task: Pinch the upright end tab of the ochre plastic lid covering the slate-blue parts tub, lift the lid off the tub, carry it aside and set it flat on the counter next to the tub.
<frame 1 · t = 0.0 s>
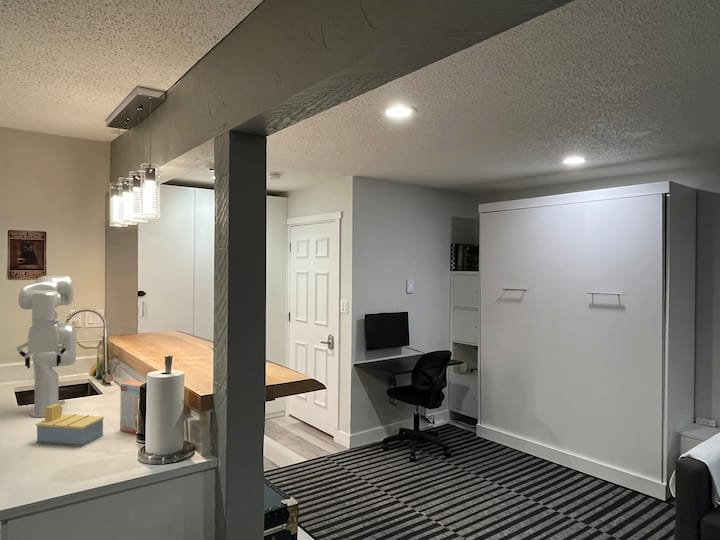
hand: (43, 366, 190), 31 cm above the worktop, tool pointing down, fingers open, 9 cm apart
tub: (70, 439, 197), on the worktop
lid: (70, 422, 197), point 7 cm above the worktop, touching tub
cracker box: (137, 431, 206), on the worktop
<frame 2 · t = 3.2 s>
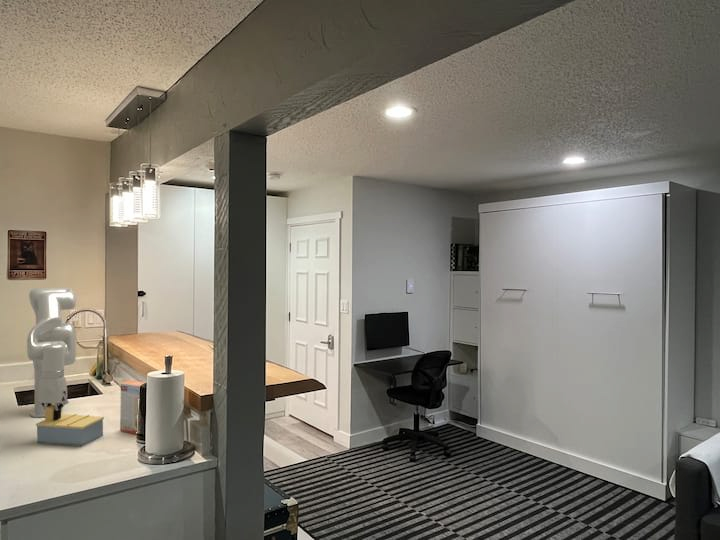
hand: (53, 418, 198), 8 cm above the worktop, tool pointing down, fingers closed on lid, 3 cm apart
lid: (70, 422, 197), point 7 cm above the worktop, touching gripper, tub
everything else where it was.
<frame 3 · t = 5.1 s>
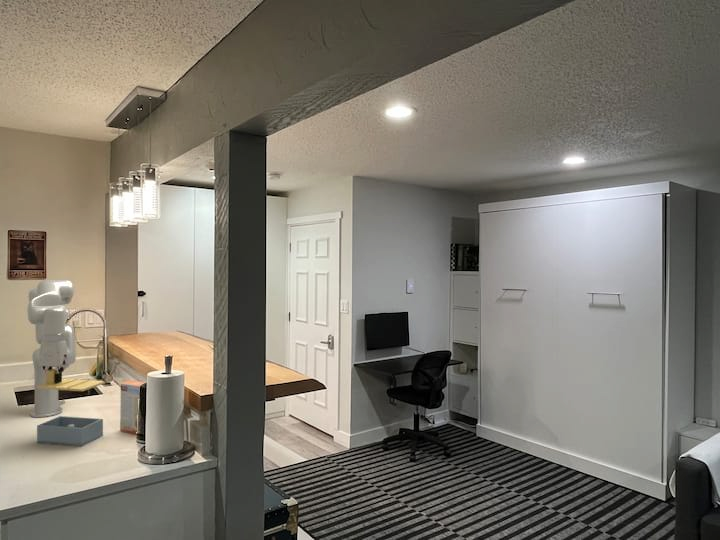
hand: (54, 381, 198), 23 cm above the worktop, tool pointing down, fingers closed on lid, 3 cm apart
lid: (71, 385, 197), point 22 cm above the worktop, touching gripper
everything else where it was.
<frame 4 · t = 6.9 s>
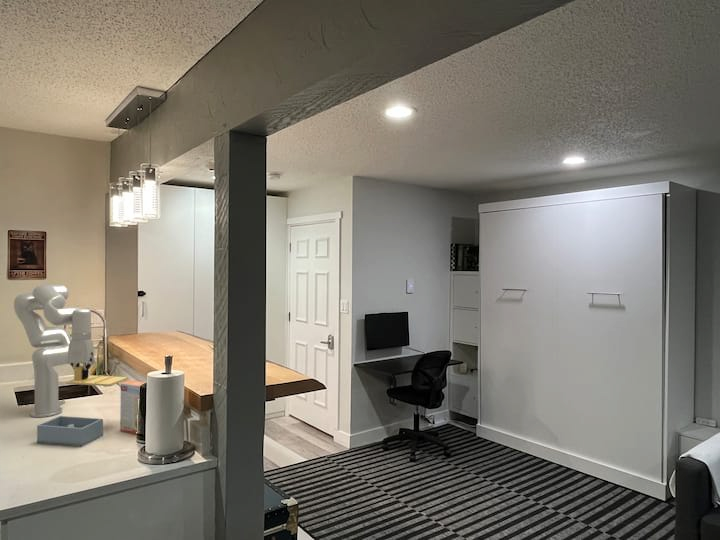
hand: (81, 377, 213), 21 cm above the worktop, tool pointing down, fingers closed on lid, 3 cm apart
lid: (97, 381, 212), point 20 cm above the worktop, touching gripper
everything else where it was.
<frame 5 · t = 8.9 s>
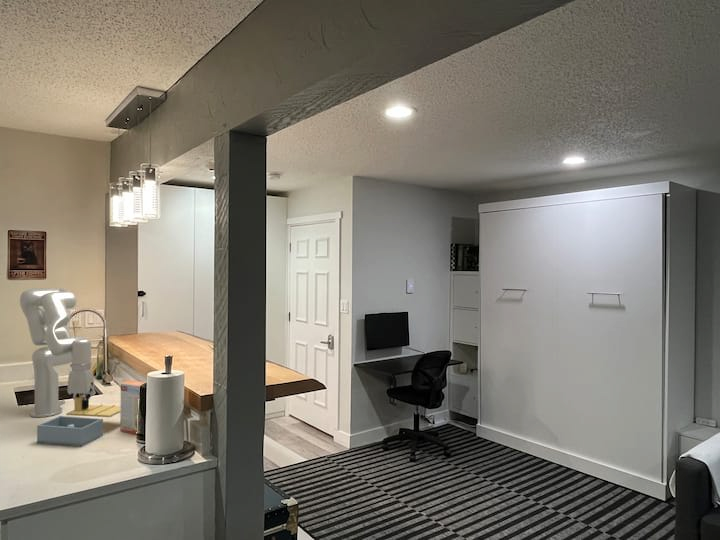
hand: (81, 407, 213), 8 cm above the worktop, tool pointing down, fingers closed on lid, 3 cm apart
lid: (98, 411, 212), point 6 cm above the worktop, touching gripper
everything else where it was.
when the fingers open (2 cm above the worktop, at t = 10.8 s): lid drops 1 cm, on the worktop.
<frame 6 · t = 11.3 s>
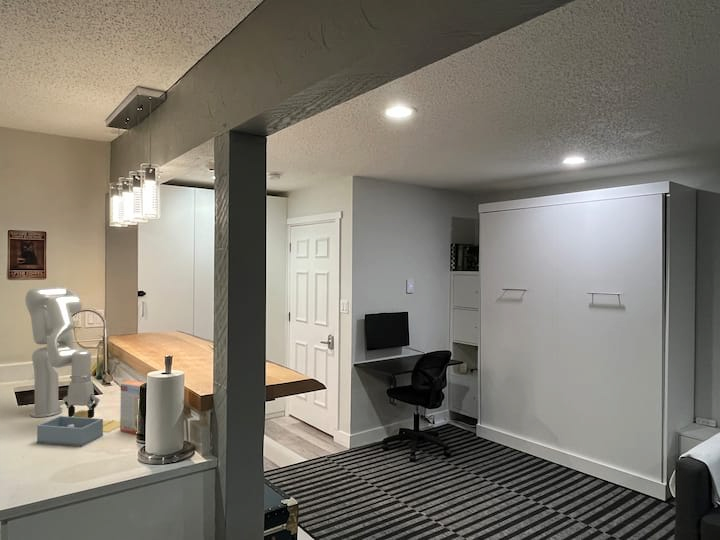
hand: (81, 417, 214), 3 cm above the worktop, tool pointing down, fingers open, 9 cm apart
lid: (96, 427, 213), on the worktop
everything else where it was.
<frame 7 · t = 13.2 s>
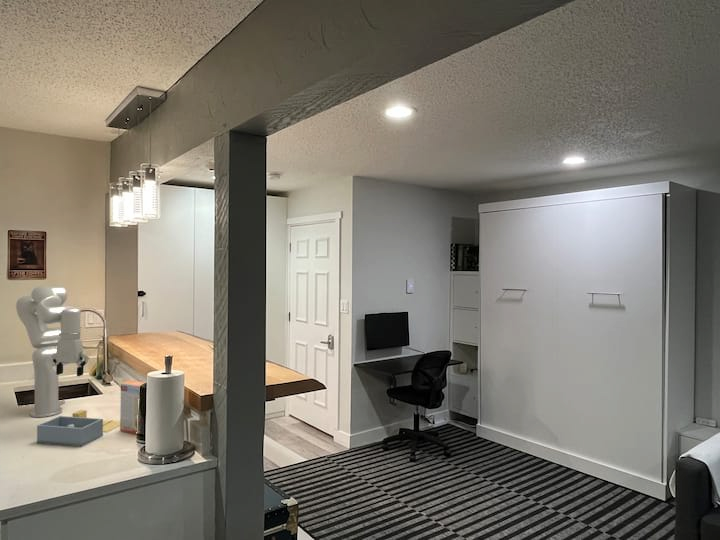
hand: (69, 374, 212), 23 cm above the worktop, tool pointing down, fingers open, 9 cm apart
nothing on the worktop moved.
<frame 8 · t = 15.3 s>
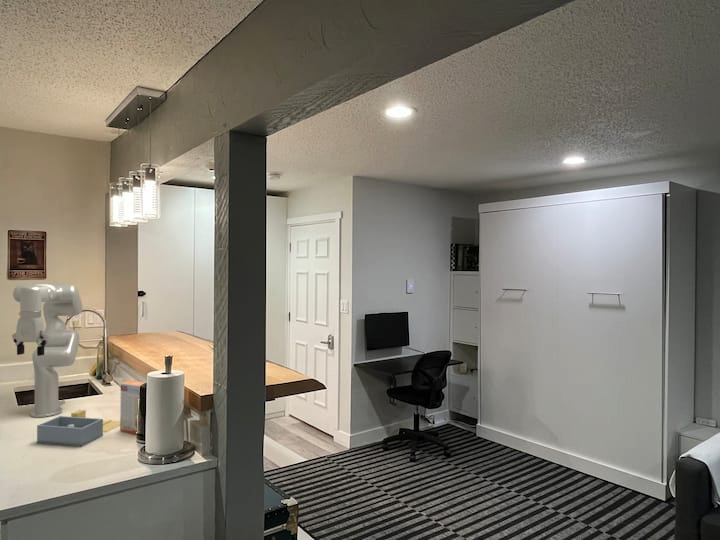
hand: (30, 354, 207), 32 cm above the worktop, tool pointing down, fingers open, 9 cm apart
at the end: lid inside the target area (1.5 cm from its centre), on the worktop; lid touching worktop; lid tilted 0° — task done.
